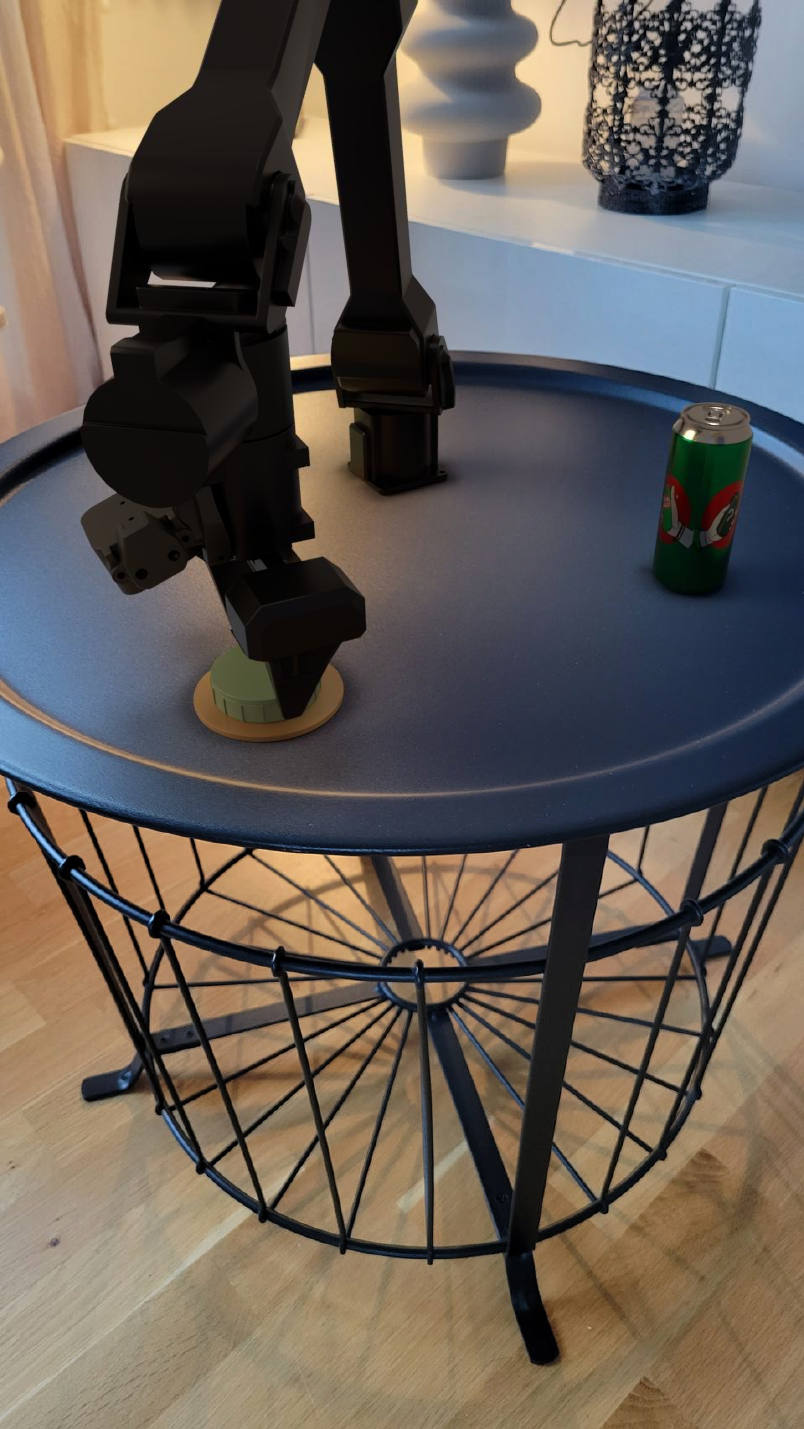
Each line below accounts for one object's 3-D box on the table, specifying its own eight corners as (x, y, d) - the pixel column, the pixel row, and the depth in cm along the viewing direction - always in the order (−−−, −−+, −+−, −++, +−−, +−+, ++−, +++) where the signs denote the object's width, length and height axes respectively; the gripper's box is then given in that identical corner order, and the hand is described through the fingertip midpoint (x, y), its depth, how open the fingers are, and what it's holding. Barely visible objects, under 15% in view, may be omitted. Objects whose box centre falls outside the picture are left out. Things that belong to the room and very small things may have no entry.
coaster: (305, 640, 69) (305, 635, 68) (369, 712, 62) (369, 706, 62) (173, 680, 65) (172, 675, 65) (227, 760, 59) (226, 755, 59)
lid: (219, 731, 60) (215, 708, 59) (207, 669, 65) (204, 647, 64) (329, 713, 61) (328, 690, 60) (310, 654, 66) (308, 632, 65)
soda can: (727, 568, 75) (759, 404, 68) (720, 603, 71) (753, 433, 64) (656, 558, 77) (680, 396, 69) (645, 591, 73) (669, 424, 66)
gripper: (46, 388, 58) (100, 629, 67) (117, 530, 44) (172, 808, 53) (242, 357, 61) (267, 591, 71) (364, 480, 47) (375, 750, 57)
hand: (266, 674), depth 63 cm, fingers open, 9 cm apart
